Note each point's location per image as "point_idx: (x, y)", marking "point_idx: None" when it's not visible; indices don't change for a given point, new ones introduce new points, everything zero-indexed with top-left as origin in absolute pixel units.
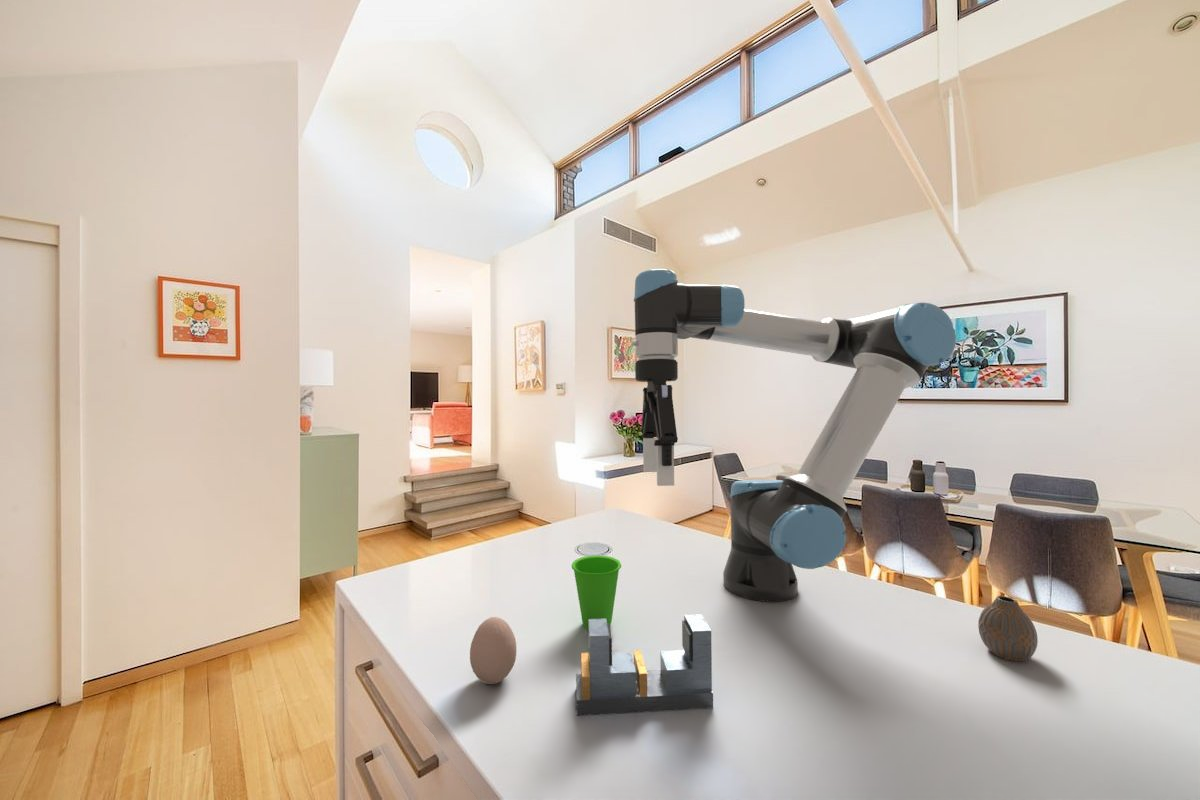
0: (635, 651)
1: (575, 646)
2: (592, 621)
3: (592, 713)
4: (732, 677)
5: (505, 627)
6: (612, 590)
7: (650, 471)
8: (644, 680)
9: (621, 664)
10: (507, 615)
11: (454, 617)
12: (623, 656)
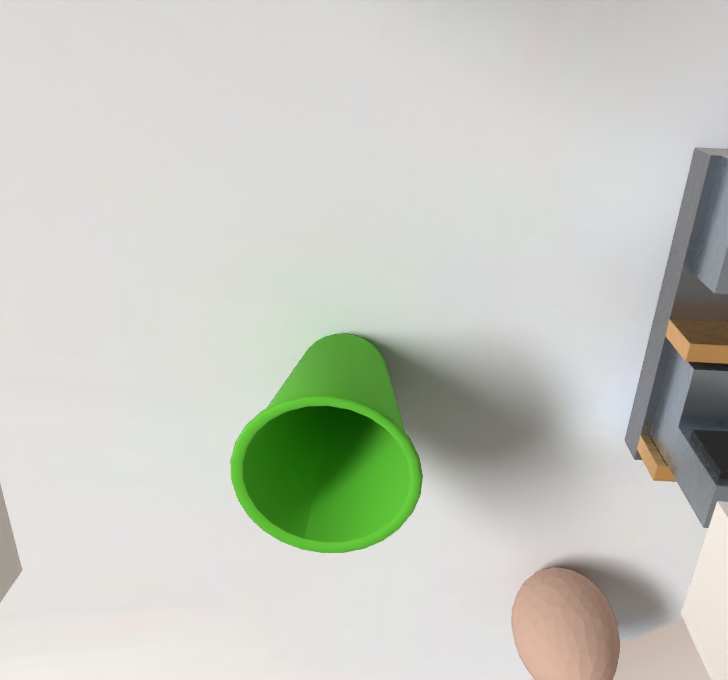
0: (691, 357)
1: (452, 430)
2: None
3: None
4: (705, 43)
5: (594, 659)
6: (384, 393)
7: (7, 525)
8: None
9: None
10: (273, 569)
11: (275, 663)
12: (704, 390)
